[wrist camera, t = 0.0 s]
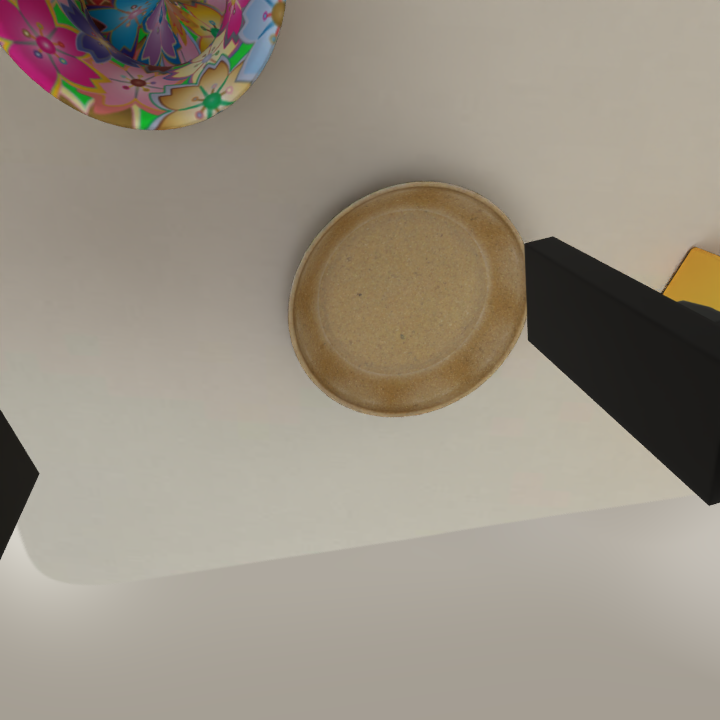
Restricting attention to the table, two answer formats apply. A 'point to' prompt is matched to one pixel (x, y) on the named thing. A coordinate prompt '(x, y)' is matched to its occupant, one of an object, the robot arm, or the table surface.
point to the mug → (142, 54)
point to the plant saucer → (409, 299)
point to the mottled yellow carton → (697, 280)
